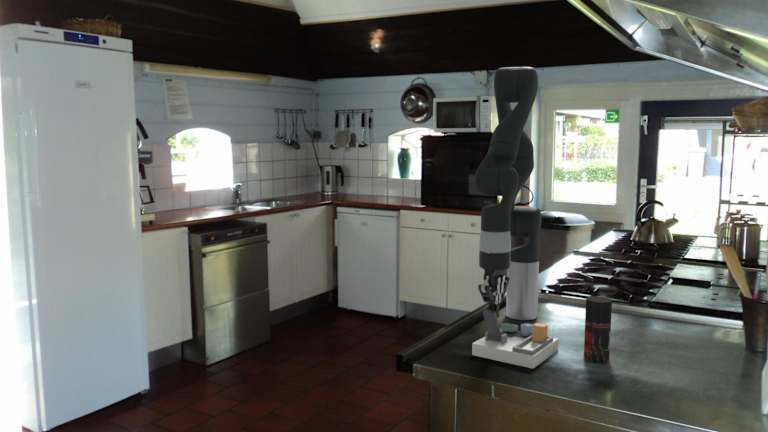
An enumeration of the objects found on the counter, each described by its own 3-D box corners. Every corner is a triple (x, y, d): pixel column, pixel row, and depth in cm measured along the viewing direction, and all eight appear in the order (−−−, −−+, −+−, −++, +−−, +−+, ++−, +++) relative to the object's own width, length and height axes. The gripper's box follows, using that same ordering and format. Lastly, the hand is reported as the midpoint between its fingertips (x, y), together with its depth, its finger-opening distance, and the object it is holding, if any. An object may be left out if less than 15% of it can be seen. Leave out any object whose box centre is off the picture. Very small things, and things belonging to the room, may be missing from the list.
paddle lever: (490, 336, 160) (484, 309, 156) (501, 339, 159) (495, 311, 154) (489, 339, 160) (482, 311, 156) (500, 341, 158) (493, 313, 154)
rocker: (507, 329, 168) (507, 323, 168) (517, 331, 166) (518, 325, 166) (500, 329, 165) (501, 323, 165) (511, 331, 163) (512, 325, 163)
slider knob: (535, 338, 161) (536, 322, 160) (547, 340, 159) (547, 324, 159) (532, 340, 159) (532, 325, 159) (543, 342, 157) (544, 327, 157)
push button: (523, 331, 166) (523, 322, 166) (535, 333, 164) (535, 324, 164) (518, 334, 163) (518, 325, 163) (530, 337, 162) (530, 327, 161)
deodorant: (610, 364, 152) (613, 303, 150) (585, 362, 153) (587, 301, 151) (607, 356, 158) (610, 296, 156) (582, 354, 159) (584, 295, 157)
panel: (500, 338, 171) (500, 320, 170) (558, 350, 162) (558, 331, 161) (472, 355, 158) (472, 335, 158) (533, 368, 149) (533, 348, 148)
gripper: (493, 243, 163) (491, 309, 165) (468, 251, 152) (467, 321, 154) (520, 246, 158) (518, 314, 160) (497, 254, 148) (495, 327, 150)
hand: (493, 317), depth 157 cm, fingers closed
